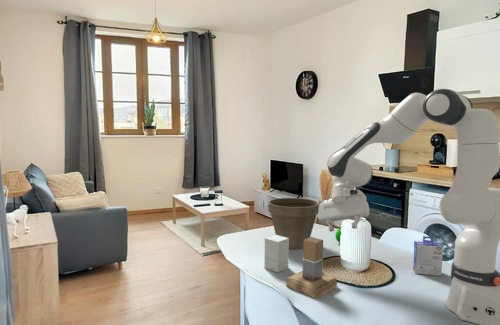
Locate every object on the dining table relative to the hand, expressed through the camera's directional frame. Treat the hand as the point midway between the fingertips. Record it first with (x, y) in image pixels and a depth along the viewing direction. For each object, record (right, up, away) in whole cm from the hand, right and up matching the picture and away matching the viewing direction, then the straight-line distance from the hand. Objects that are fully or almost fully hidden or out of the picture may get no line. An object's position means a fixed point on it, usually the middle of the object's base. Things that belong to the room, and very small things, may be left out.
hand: (342, 229), depth 134 cm
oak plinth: (-13, -19, -7) cm, 24 cm away
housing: (-13, -16, -8) cm, 22 cm away
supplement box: (-25, -18, +9) cm, 32 cm away
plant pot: (-15, -15, +40) cm, 45 cm away
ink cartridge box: (+36, -19, +8) cm, 42 cm away
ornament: (+12, -16, +42) cm, 47 cm away
